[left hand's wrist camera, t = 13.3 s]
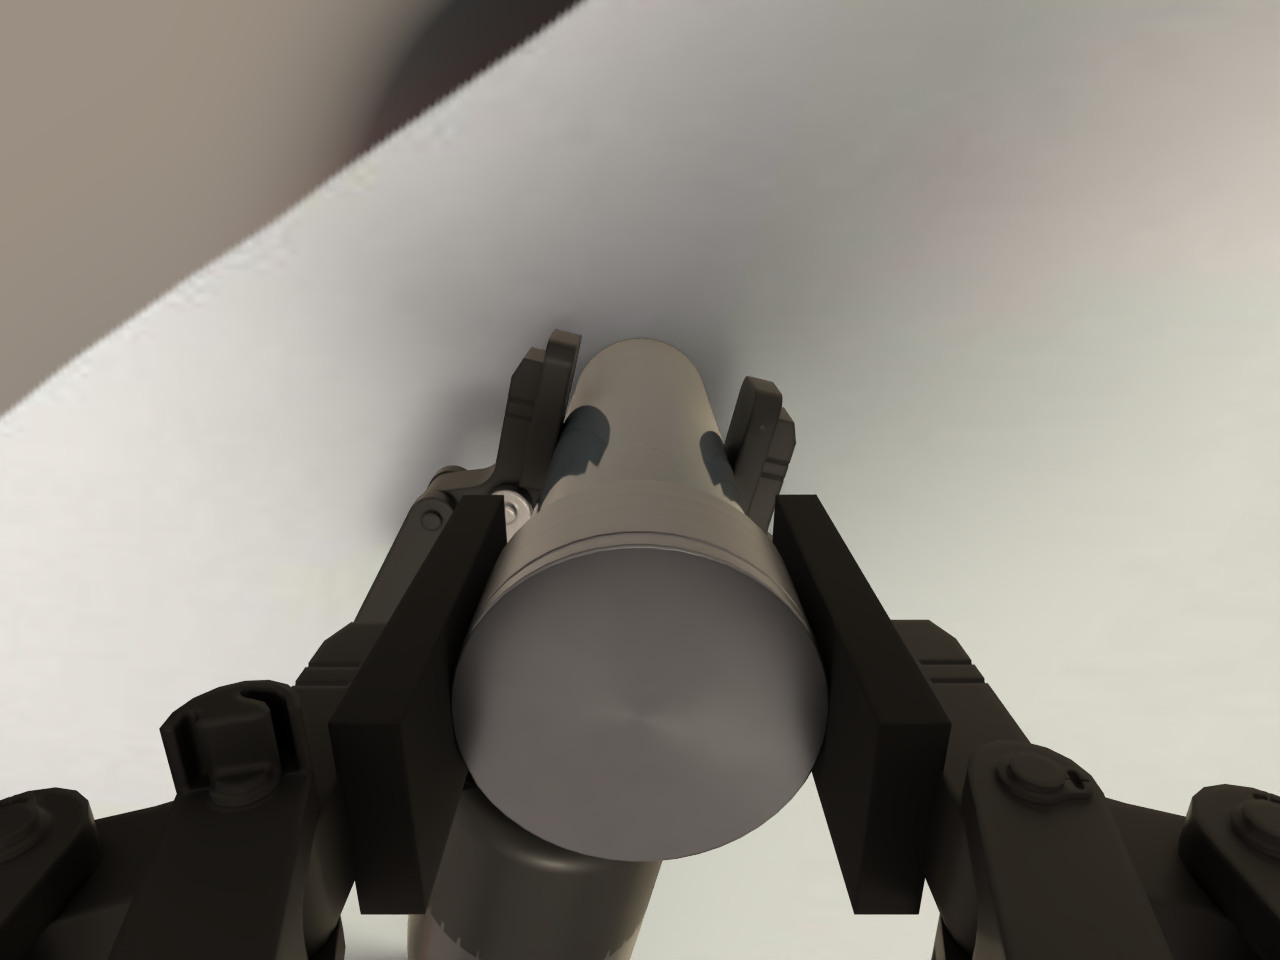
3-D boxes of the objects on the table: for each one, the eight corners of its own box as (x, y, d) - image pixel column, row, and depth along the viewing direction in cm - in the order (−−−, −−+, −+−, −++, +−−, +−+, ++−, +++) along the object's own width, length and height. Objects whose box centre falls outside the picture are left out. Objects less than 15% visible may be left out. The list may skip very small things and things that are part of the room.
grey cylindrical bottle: (684, 320, 24) (754, 512, 10) (721, 445, 26) (830, 779, 11) (556, 361, 25) (429, 604, 10) (598, 481, 26) (544, 849, 11)
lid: (715, 421, 11) (734, 477, 9) (844, 681, 13) (886, 783, 10) (423, 563, 12) (372, 646, 10) (578, 791, 13) (566, 907, 11)
